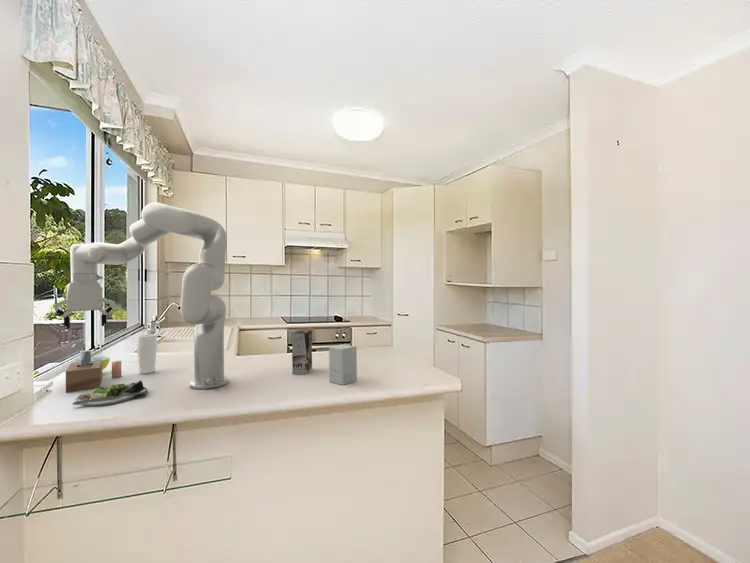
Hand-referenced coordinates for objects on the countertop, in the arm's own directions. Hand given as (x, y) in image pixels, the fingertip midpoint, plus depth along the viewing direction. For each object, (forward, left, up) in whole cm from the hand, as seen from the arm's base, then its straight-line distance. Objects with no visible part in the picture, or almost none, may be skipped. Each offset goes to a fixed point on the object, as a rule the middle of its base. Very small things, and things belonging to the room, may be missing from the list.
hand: (86, 327), depth 128 cm
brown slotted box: (0, 0, -21) cm, 21 cm away
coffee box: (-29, -70, -21) cm, 78 cm away
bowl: (+16, -1, -21) cm, 26 cm away
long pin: (0, 0, -21) cm, 21 cm away
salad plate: (-23, -9, -21) cm, 32 cm away
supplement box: (-51, -76, -21) cm, 93 cm away
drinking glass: (+7, -19, -21) cm, 29 cm away
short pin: (+6, -9, -21) cm, 23 cm away
